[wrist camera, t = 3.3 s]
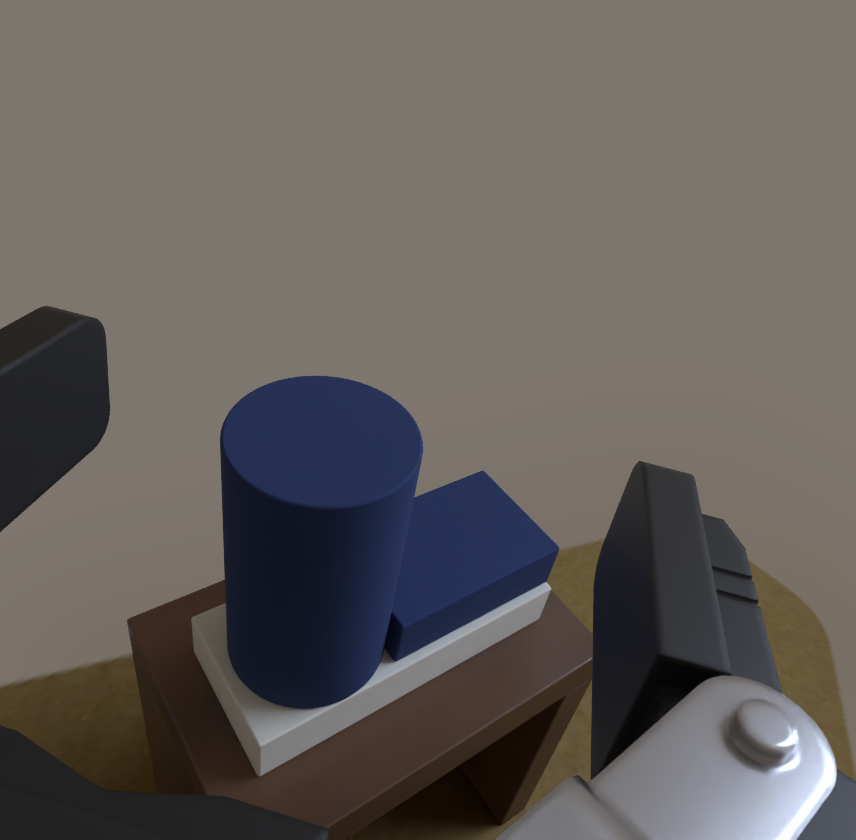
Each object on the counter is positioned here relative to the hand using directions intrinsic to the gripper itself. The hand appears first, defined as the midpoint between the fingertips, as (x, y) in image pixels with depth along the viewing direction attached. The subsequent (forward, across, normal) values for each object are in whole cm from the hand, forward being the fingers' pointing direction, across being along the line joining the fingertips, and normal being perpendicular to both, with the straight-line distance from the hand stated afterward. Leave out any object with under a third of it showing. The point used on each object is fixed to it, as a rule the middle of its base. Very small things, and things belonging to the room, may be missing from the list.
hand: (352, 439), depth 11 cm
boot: (+10, 0, +15) cm, 18 cm away
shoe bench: (+12, 0, +29) cm, 32 cm away
